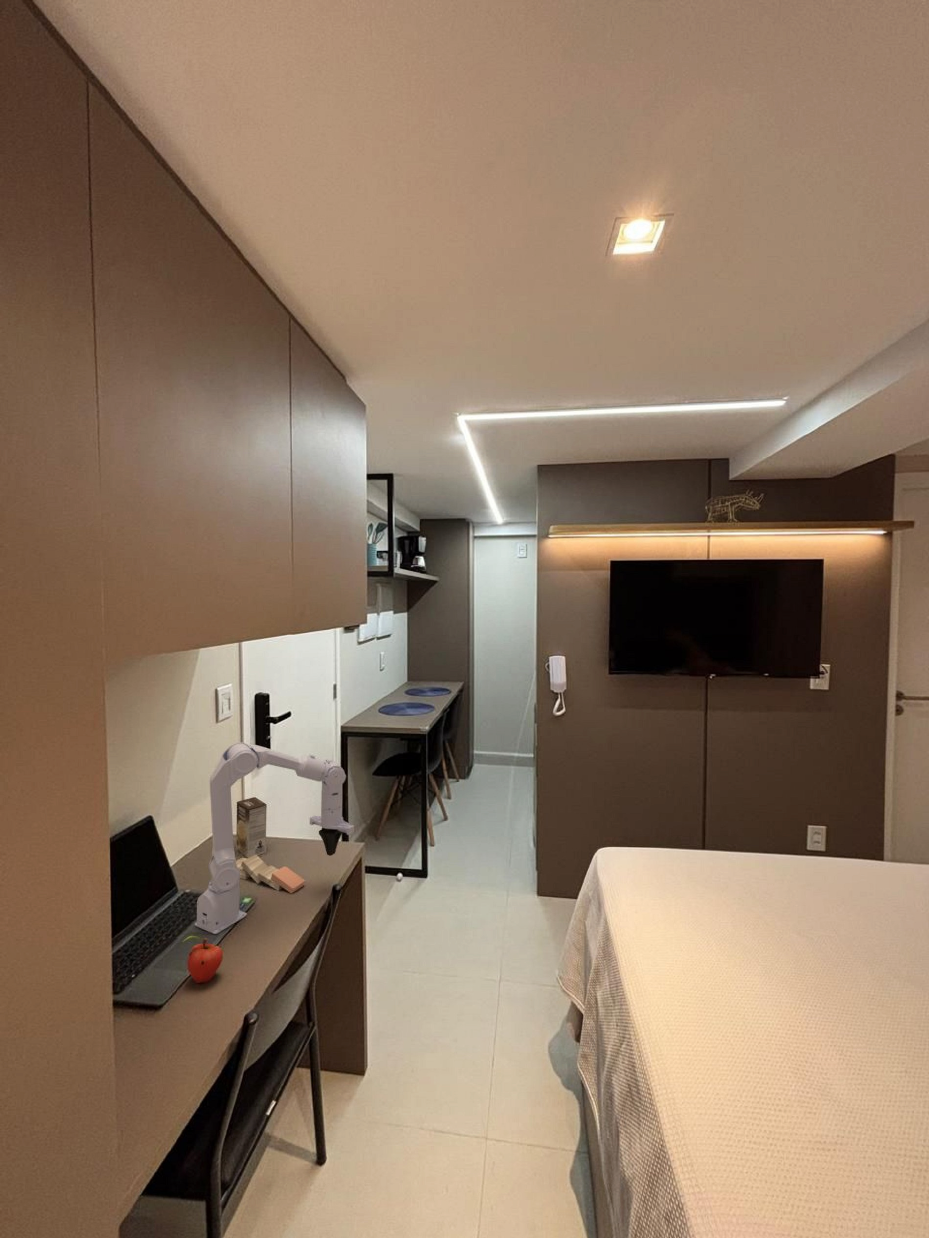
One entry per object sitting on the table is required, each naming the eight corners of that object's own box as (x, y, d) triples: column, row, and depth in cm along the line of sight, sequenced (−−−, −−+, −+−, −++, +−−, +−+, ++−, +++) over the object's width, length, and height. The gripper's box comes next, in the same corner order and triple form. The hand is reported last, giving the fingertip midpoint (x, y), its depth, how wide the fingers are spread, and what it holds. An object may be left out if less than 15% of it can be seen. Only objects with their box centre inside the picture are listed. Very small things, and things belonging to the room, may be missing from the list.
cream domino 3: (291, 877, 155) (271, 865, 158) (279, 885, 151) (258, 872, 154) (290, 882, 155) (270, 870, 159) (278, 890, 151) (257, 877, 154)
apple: (213, 963, 120) (213, 919, 119) (228, 977, 115) (228, 931, 115) (177, 981, 114) (177, 934, 114) (191, 996, 109) (191, 948, 109)
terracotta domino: (291, 893, 149) (270, 878, 152) (303, 885, 154) (283, 870, 157) (292, 888, 149) (272, 873, 152) (305, 880, 154) (284, 865, 157)
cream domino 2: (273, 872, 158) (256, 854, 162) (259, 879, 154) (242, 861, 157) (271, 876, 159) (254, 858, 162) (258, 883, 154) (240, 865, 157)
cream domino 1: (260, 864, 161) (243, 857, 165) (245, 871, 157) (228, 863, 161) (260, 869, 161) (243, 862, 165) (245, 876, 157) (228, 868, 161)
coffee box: (235, 849, 176) (235, 801, 175) (254, 843, 180) (254, 796, 180) (247, 859, 169) (248, 808, 169) (267, 852, 174) (267, 803, 174)
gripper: (361, 806, 151) (360, 854, 151) (322, 797, 158) (321, 842, 158) (344, 814, 145) (344, 864, 145) (304, 804, 152) (304, 852, 152)
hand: (331, 853), depth 151 cm, fingers closed
